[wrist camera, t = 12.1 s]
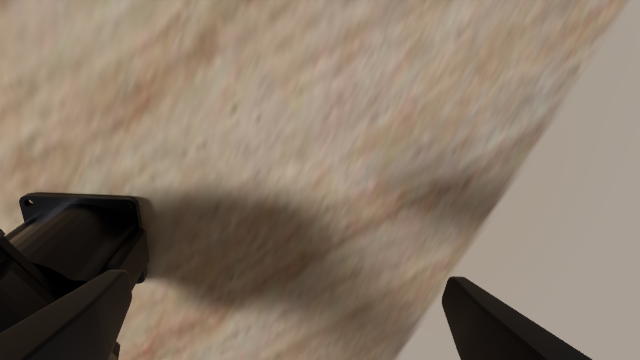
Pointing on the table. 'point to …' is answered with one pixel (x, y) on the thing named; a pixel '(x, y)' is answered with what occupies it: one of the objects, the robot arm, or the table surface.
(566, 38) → the table surface
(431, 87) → the table surface
